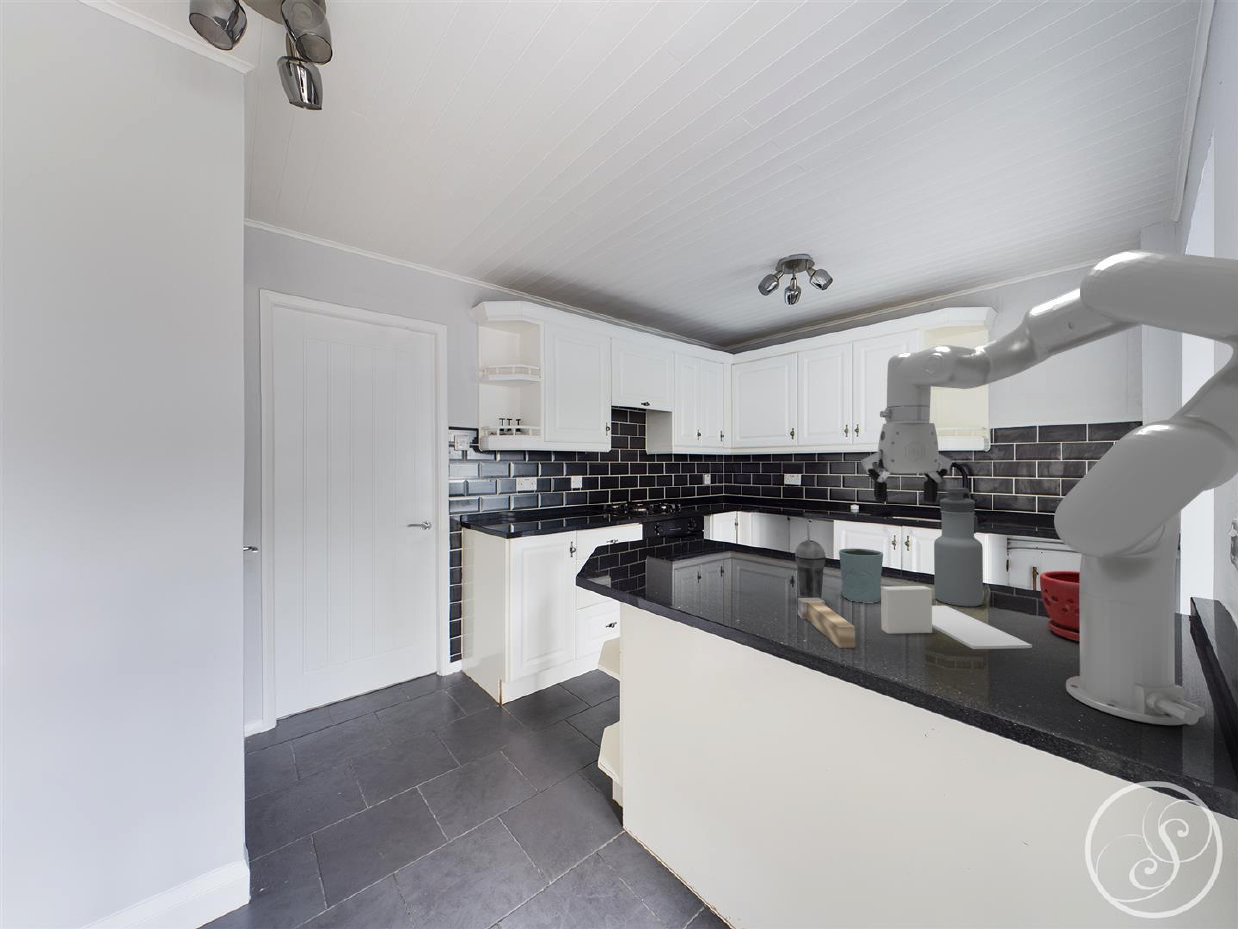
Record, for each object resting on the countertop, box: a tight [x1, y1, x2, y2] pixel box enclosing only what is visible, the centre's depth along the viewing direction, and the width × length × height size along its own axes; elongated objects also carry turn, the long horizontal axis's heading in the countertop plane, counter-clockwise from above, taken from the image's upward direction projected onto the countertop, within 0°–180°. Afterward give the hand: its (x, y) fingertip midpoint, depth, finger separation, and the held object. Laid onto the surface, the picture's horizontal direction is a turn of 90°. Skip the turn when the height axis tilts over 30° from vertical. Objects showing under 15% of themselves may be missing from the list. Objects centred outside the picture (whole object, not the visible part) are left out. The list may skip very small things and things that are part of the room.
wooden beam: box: [797, 597, 856, 649], centre depth 102 cm, size 19×5×4 cm, turn 0°
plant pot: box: [1039, 570, 1080, 643], centre depth 95 cm, size 13×13×12 cm
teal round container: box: [838, 547, 884, 602], centre depth 123 cm, size 10×10×12 cm
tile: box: [880, 585, 933, 635], centre depth 100 cm, size 3×9×9 cm, turn 90°
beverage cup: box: [794, 522, 827, 599], centre depth 120 cm, size 7×7×20 cm
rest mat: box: [932, 605, 1033, 650], centre depth 102 cm, size 24×11×1 cm, turn 0°
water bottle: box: [933, 486, 984, 608], centre depth 119 cm, size 10×10×28 cm
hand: (905, 501), depth 98 cm, fingers open, 9 cm apart
